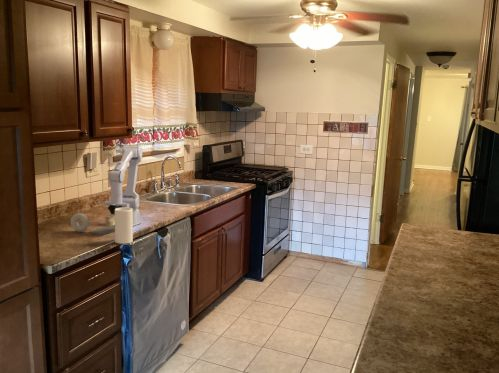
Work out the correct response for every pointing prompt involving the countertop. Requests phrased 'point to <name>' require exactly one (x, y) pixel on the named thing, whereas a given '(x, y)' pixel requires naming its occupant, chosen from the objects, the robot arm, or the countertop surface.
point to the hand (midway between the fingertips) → (116, 219)
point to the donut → (75, 222)
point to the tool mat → (104, 230)
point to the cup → (123, 225)
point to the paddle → (110, 220)
